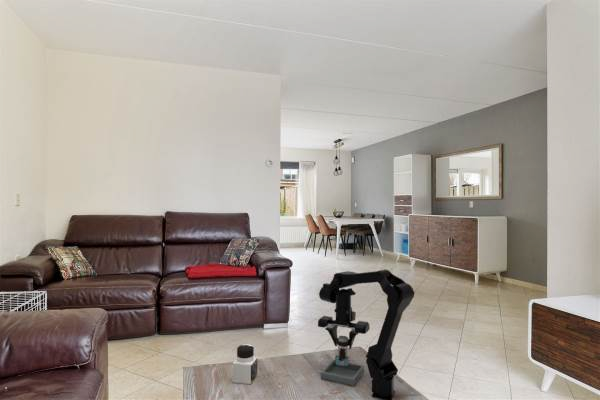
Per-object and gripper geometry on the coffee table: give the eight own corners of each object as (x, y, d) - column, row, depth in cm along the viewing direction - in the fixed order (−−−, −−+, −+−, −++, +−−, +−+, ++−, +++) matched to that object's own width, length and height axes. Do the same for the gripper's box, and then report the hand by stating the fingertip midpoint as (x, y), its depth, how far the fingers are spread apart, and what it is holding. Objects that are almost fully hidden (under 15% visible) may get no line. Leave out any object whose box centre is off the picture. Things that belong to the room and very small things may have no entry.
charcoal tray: (364, 372, 141) (364, 365, 141) (353, 386, 130) (353, 379, 130) (333, 365, 147) (333, 359, 147) (320, 379, 135) (320, 372, 136)
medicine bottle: (251, 384, 131) (251, 350, 131) (232, 382, 132) (232, 349, 133) (257, 375, 138) (257, 343, 138) (239, 373, 139) (239, 341, 140)
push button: (351, 361, 141) (352, 335, 141) (353, 367, 136) (355, 340, 136) (333, 360, 141) (335, 334, 141) (335, 366, 135) (337, 339, 136)
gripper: (373, 303, 142) (373, 344, 141) (328, 298, 150) (328, 336, 150) (365, 310, 132) (365, 354, 131) (317, 304, 140) (317, 346, 140)
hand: (343, 347), depth 138 cm, fingers closed on push button, 5 cm apart
